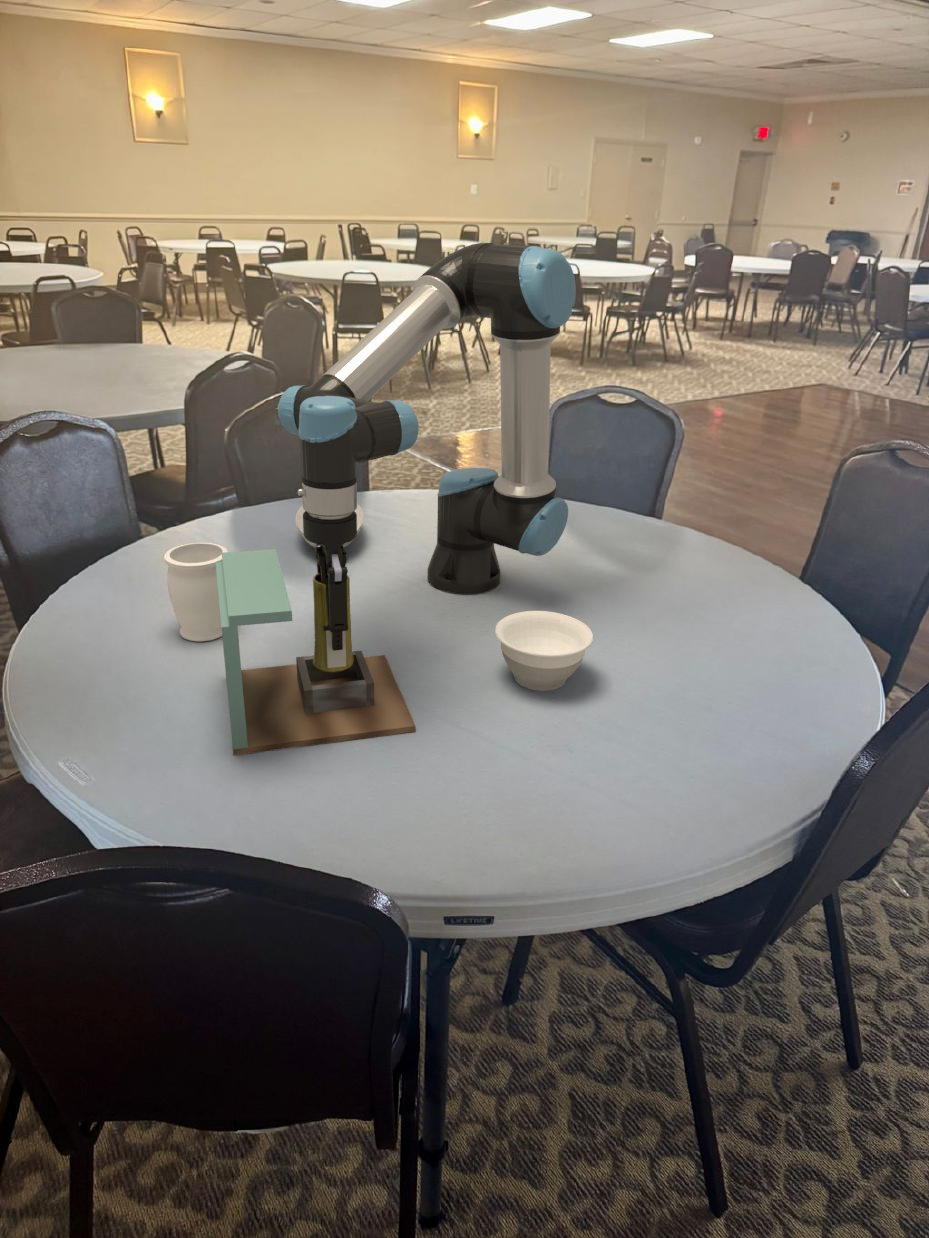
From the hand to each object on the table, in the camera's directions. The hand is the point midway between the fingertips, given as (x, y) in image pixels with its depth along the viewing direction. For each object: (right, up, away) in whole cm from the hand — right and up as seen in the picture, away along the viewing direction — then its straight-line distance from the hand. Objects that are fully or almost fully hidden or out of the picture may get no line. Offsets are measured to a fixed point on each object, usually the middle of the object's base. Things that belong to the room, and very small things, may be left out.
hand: (333, 655), depth 128 cm
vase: (0, -1, +1) cm, 2 cm away
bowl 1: (-10, +23, +63) cm, 68 cm away
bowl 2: (+33, -4, +12) cm, 35 cm away
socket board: (-3, -7, +2) cm, 8 cm away
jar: (-26, +3, +21) cm, 34 cm away
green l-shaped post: (-11, -7, -1) cm, 13 cm away
